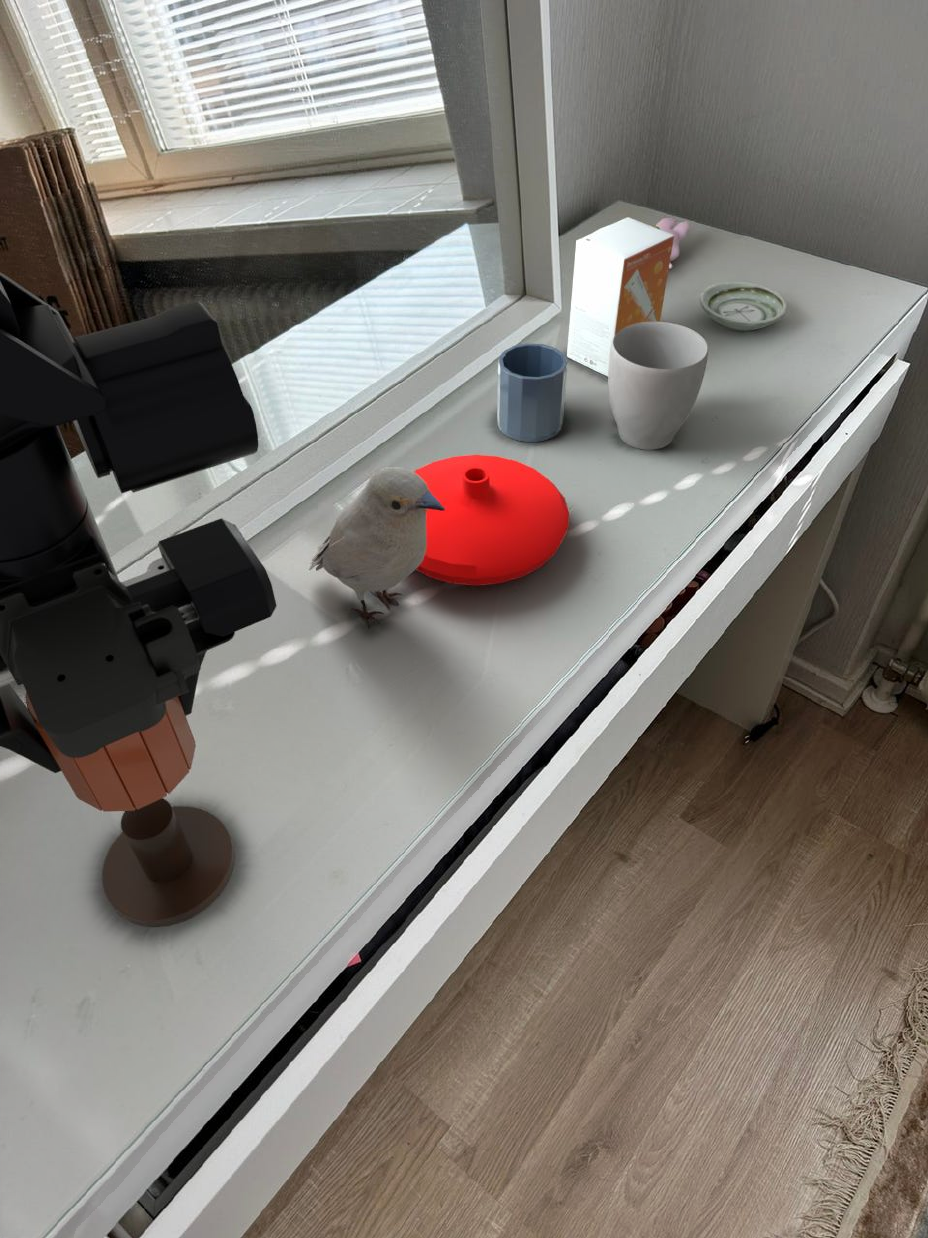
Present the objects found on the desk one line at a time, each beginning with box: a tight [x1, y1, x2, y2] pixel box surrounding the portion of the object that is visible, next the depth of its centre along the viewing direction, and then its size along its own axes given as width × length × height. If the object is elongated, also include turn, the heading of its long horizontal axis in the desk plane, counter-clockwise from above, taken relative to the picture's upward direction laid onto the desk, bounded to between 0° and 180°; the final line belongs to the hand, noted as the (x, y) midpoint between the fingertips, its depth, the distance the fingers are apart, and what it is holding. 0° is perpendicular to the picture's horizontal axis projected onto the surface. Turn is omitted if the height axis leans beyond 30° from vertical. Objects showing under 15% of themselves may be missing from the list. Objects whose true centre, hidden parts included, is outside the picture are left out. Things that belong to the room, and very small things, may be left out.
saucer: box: [699, 281, 788, 332], centre depth 104 cm, size 10×10×2 cm
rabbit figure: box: [654, 217, 691, 270], centre depth 113 cm, size 6×6×15 cm
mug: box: [607, 321, 709, 451], centre depth 87 cm, size 12×9×10 cm
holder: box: [101, 798, 235, 927], centre depth 56 cm, size 8×8×6 cm
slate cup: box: [496, 342, 569, 443], centre depth 89 cm, size 6×6×7 cm
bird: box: [308, 466, 445, 630], centre depth 68 cm, size 5×14×15 cm, turn 56°
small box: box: [566, 216, 674, 378], centre depth 96 cm, size 8×6×13 cm
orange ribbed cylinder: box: [25, 691, 197, 813], centre depth 49 cm, size 7×7×7 cm
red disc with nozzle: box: [413, 454, 570, 586], centre depth 77 cm, size 16×16×7 cm
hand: (122, 737), depth 50 cm, fingers closed on orange ribbed cylinder, 7 cm apart
